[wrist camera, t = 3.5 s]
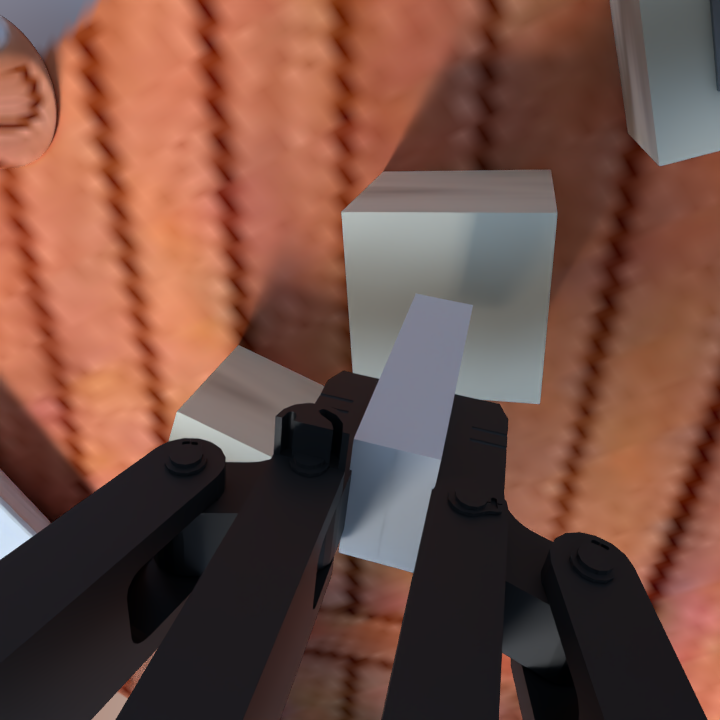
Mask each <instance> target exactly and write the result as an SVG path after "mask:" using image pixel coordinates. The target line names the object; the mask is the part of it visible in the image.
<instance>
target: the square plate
mask: <svg viewBox="0 0 720 720" xmlns="http://www.w3.org/2000/svg"><path fill="white" fill-rule="evenodd" d="M49 524H51V522H50V521H49V520H48V519H47V518H46V517H45V516H44V515H43V514H42V512H41V511H40V510H39V509H38V508H37V507H36V506H35V505H34V504H33V503H32V502H31V501H30V500H29V499H28V498H27V497H26V496H25V494H24V493H23V492H22V491H21V490H20V489H19V488H18V487H17V486H16V485H15V484H14V483H13V482H12V481H11V480H10V479H9V477H8V476H7V475H6V474H5V473H4V472H3V471H2V470H1V469H0V560H1V559H2V558H3V557H5V556H6V555H8V554H9V553H10V552H12V551H13V550H15V549H16V548H17V547H19V546H20V545H21V544H23V543H24V542H26V541H27V540H28V539H30V538H31V537H33V536H34V535H35V534H37V533H38V532H40V531H41V530H42V529H44V528H45V527H47V526H48V525H49Z"/></svg>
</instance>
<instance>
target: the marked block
mask: <svg viewBox="0 0 720 720" xmlns="http://www.w3.org/2000/svg"><path fill="white" fill-rule="evenodd" d="M324 387H325V386H323V385H321V384H319V383H317V382H315V381H313V380H311V379H309V378H306V377H304V376H302V375H300V374H298V373H296V372H294V371H292V370H290V369H288V368H286V367H284V366H281V365H279V364H277V363H275V362H273V361H271V360H269V359H267V358H265V357H263V356H261V355H258V354H256V353H254V352H252V351H250V350H248V349H246V348H244V347H242V346H240V345H238V346H237V347H236V348H235V349H234V350H233V352H232V353H231V354H230V355H229V356H228V357H227V358H226V359H225V360H224V361H223V362H222V363H221V364H220V366H219V367H218V368H217V369H216V370H215V371H214V372H213V373H212V374H211V375H210V376H209V377H208V379H207V380H206V381H205V382H204V383H203V384H202V385H201V386H200V387H199V388H198V389H197V390H196V392H195V393H194V394H193V395H192V396H191V397H190V398H189V399H188V400H187V401H186V402H185V403H184V404H183V406H182V407H181V408H180V409H179V410H178V411H177V414H176V417H175V421H174V424H173V428H172V431H171V435H170V438H169V441H172V440H177V439H182V438H199V439H203V440H206V441H210V442H212V443H214V444H215V445H217V446H218V447H219V448H221V450H222V451H223V453H224V455H225V457H226V462H260V461H264V460H268V459H271V457H272V456H273V454H274V435H275V416H276V415H277V414H278V413H280V412H281V411H282V410H283V409H285V408H287V407H290V406H292V405H295V404H303V403H315V402H316V401H317V399H318V397H319V395H321V392H322V390H323V388H324Z"/></svg>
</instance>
